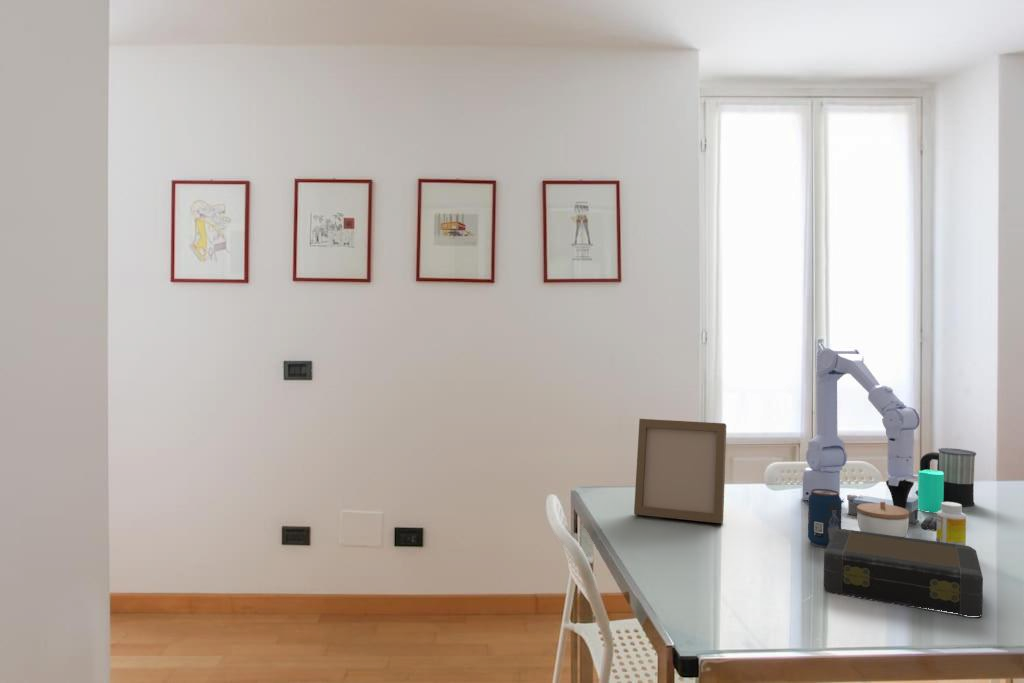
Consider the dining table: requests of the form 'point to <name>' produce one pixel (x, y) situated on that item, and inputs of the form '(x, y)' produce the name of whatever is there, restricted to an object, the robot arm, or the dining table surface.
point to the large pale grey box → (853, 506)
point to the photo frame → (681, 470)
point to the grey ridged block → (930, 522)
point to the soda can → (823, 516)
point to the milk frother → (954, 473)
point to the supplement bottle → (951, 524)
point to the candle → (930, 490)
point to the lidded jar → (883, 519)
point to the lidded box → (910, 505)
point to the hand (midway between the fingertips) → (899, 509)
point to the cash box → (904, 571)
